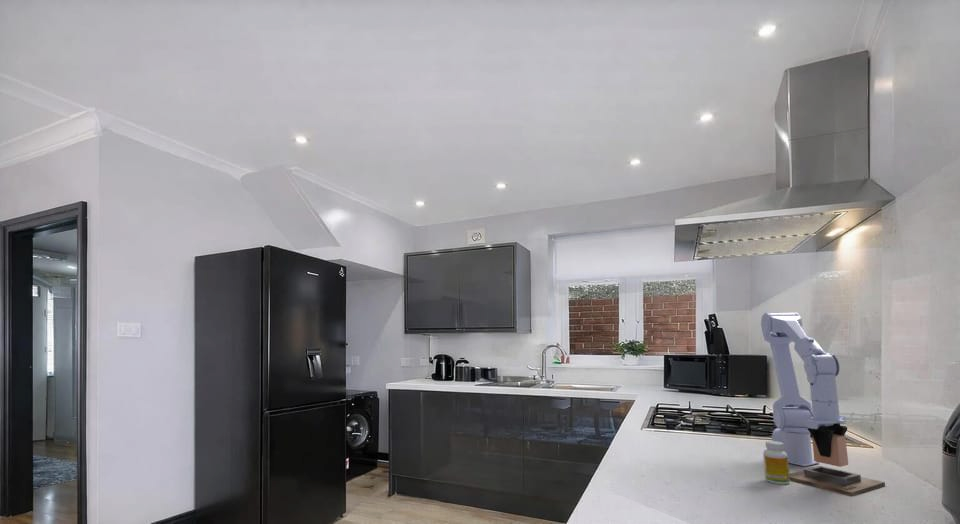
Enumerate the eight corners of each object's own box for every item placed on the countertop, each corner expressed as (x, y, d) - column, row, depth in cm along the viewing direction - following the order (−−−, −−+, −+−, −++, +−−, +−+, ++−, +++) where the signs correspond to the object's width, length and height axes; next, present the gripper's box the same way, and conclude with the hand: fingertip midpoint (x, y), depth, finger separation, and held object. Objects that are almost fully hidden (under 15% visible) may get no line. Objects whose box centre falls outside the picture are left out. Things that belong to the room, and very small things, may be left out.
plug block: (814, 461, 128) (811, 433, 129) (822, 459, 130) (820, 431, 131) (840, 466, 123) (837, 437, 124) (848, 464, 124) (845, 436, 125)
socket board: (782, 478, 129) (781, 468, 129) (816, 469, 136) (815, 460, 137) (852, 496, 115) (850, 485, 115) (885, 485, 122) (884, 475, 123)
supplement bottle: (793, 485, 123) (790, 445, 124) (769, 484, 124) (766, 444, 125) (784, 479, 128) (781, 440, 129) (762, 478, 129) (759, 439, 130)
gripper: (826, 404, 121) (832, 462, 120) (856, 400, 128) (862, 455, 126) (796, 401, 128) (801, 455, 126) (826, 397, 134) (832, 449, 133)
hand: (830, 455), depth 126 cm, fingers closed on plug block, 4 cm apart
